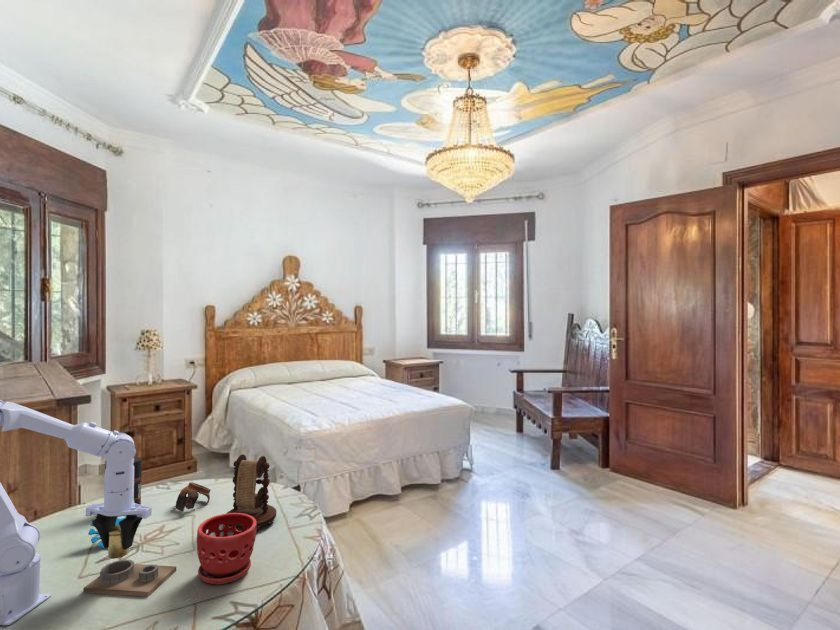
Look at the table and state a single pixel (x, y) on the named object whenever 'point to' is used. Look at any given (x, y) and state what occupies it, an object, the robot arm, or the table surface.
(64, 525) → the table surface
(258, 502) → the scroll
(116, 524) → the gear
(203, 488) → the brown leather bracelet
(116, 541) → the brass nipple
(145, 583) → the manifold board
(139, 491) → the deodorant
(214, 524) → the plant pot
